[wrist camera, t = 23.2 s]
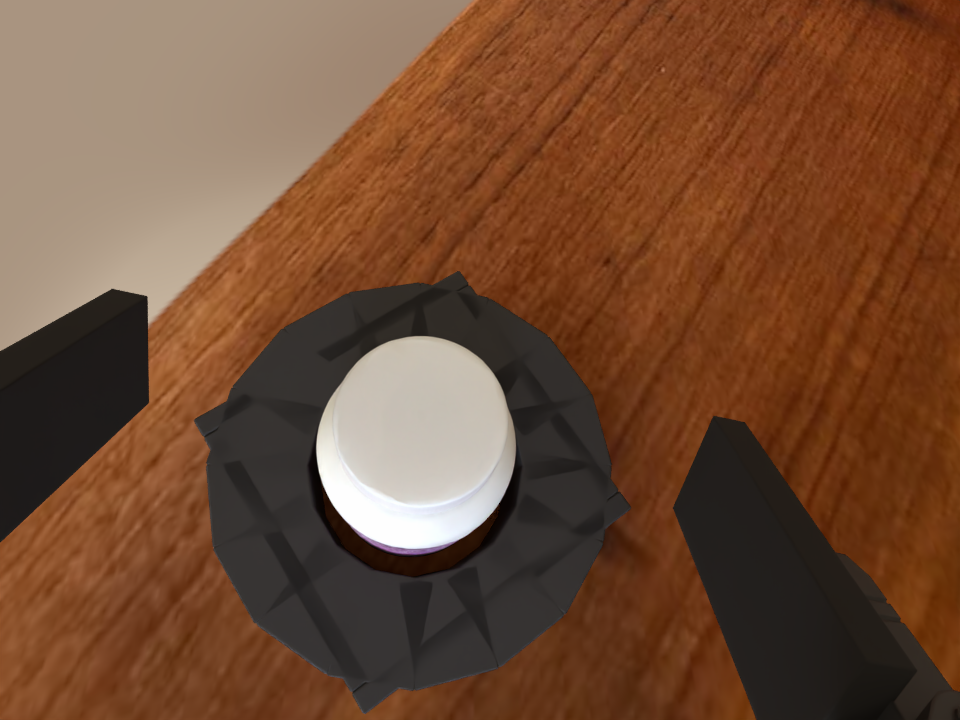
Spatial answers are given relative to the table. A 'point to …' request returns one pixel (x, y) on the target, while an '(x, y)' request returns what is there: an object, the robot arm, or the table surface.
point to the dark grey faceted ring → (382, 595)
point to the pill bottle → (416, 445)
